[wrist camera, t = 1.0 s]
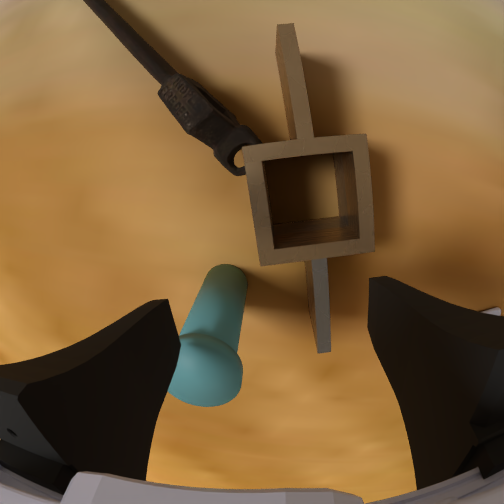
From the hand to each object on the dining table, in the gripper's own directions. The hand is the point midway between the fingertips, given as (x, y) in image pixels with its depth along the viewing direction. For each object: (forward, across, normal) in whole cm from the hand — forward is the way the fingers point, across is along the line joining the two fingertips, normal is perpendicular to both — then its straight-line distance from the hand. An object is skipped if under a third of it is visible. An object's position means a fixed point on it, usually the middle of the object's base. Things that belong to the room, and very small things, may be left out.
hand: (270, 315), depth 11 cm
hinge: (+10, -2, -3) cm, 11 cm away
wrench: (+11, +7, -18) cm, 22 cm away
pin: (+10, +4, +3) cm, 11 cm away
